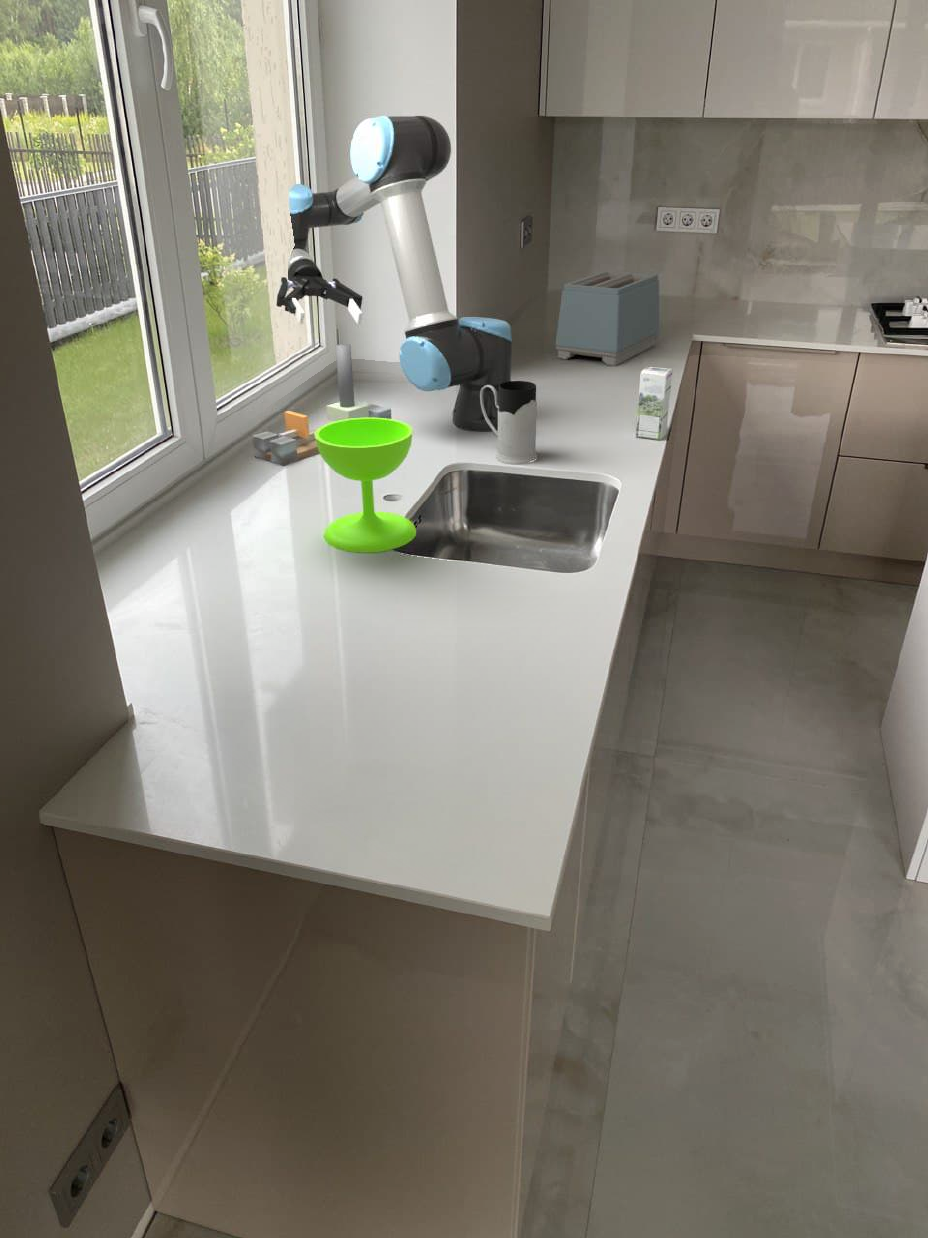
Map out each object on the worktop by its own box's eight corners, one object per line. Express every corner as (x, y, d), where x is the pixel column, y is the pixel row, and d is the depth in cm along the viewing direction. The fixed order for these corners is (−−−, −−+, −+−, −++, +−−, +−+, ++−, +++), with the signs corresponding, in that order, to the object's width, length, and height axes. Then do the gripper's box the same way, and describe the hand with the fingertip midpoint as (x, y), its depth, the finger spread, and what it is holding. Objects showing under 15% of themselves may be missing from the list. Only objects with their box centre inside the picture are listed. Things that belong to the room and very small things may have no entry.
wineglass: (312, 524, 167) (303, 424, 158) (398, 509, 173) (393, 412, 164) (338, 559, 154) (330, 453, 146) (430, 542, 160) (427, 439, 151)
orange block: (309, 436, 199) (307, 415, 197) (290, 443, 196) (288, 421, 194) (290, 431, 203) (288, 410, 200) (271, 437, 199) (269, 416, 197)
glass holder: (519, 467, 192) (520, 393, 184) (467, 452, 200) (466, 381, 193) (546, 456, 197) (548, 384, 190) (494, 442, 206) (494, 373, 198)
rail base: (391, 428, 215) (390, 408, 213) (282, 465, 194) (280, 444, 192) (364, 420, 220) (362, 401, 218) (254, 456, 199) (252, 435, 197)
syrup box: (667, 433, 210) (673, 367, 203) (660, 441, 205) (666, 374, 198) (642, 430, 212) (647, 365, 205) (634, 437, 207) (639, 371, 200)
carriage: (369, 418, 210) (364, 345, 203) (349, 424, 206) (344, 350, 199) (347, 412, 214) (342, 340, 207) (327, 418, 210) (321, 345, 203)
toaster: (663, 343, 287) (669, 272, 277) (615, 367, 261) (620, 290, 252) (605, 336, 296) (609, 267, 286) (554, 359, 270) (556, 284, 261)
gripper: (349, 288, 231) (380, 333, 219) (248, 286, 220) (275, 334, 208) (354, 258, 226) (385, 303, 214) (251, 255, 215) (278, 302, 203)
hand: (331, 318), depth 211 cm, fingers open, 13 cm apart
